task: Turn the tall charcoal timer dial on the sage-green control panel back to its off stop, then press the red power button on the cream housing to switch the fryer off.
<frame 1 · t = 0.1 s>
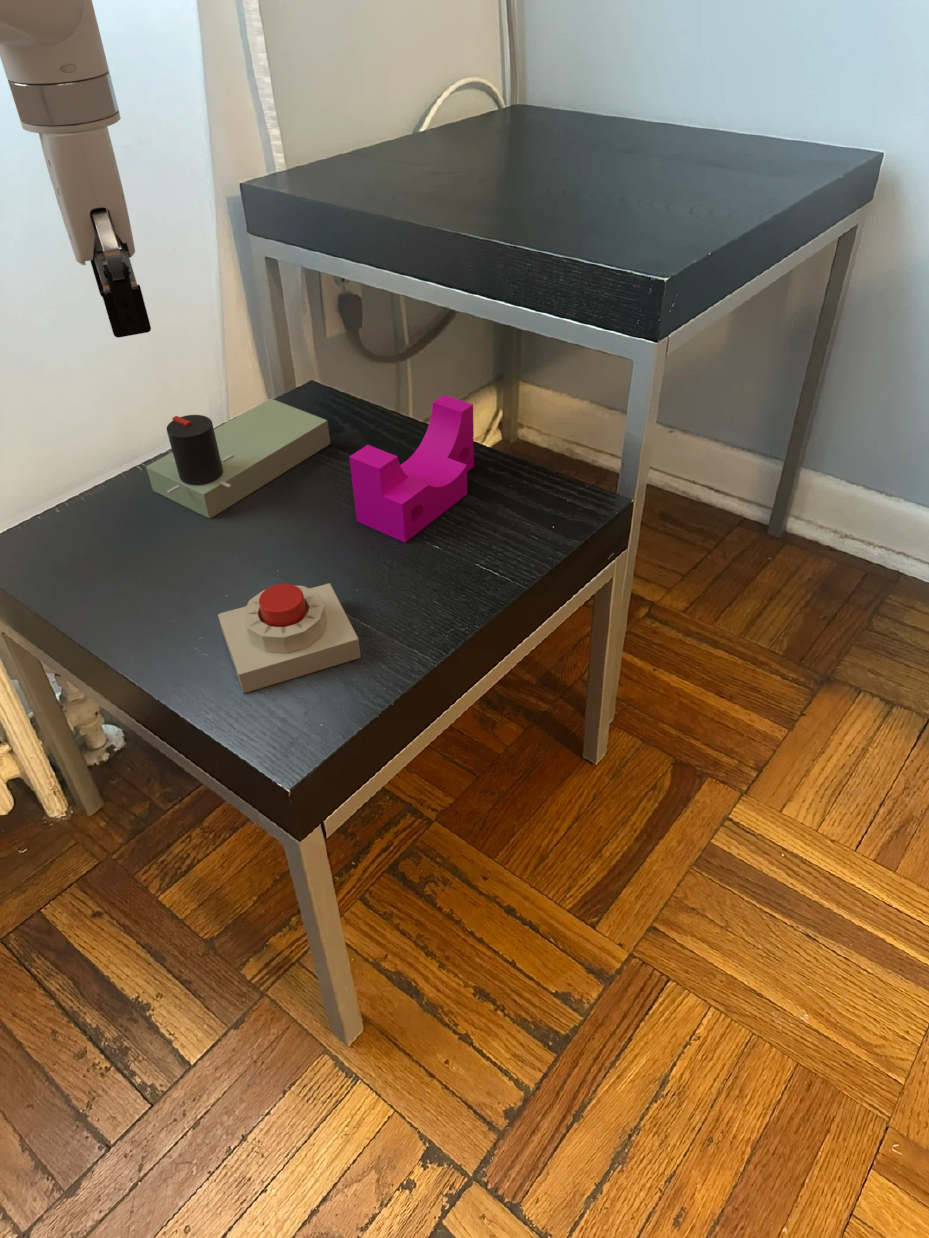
hand: (125, 313, 81), 19 cm above the table, tool pointing down, fingers open, 9 cm apart
toy block: (427, 498, 92), on the table
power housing: (290, 645, 75), on the table
timer dial: (195, 448, 88), point 6 cm above the table, hinge at 90.0°
dial panel: (244, 466, 97), on the table
power button: (282, 605, 72), point 4 cm above the table, slide at 0.1 cm
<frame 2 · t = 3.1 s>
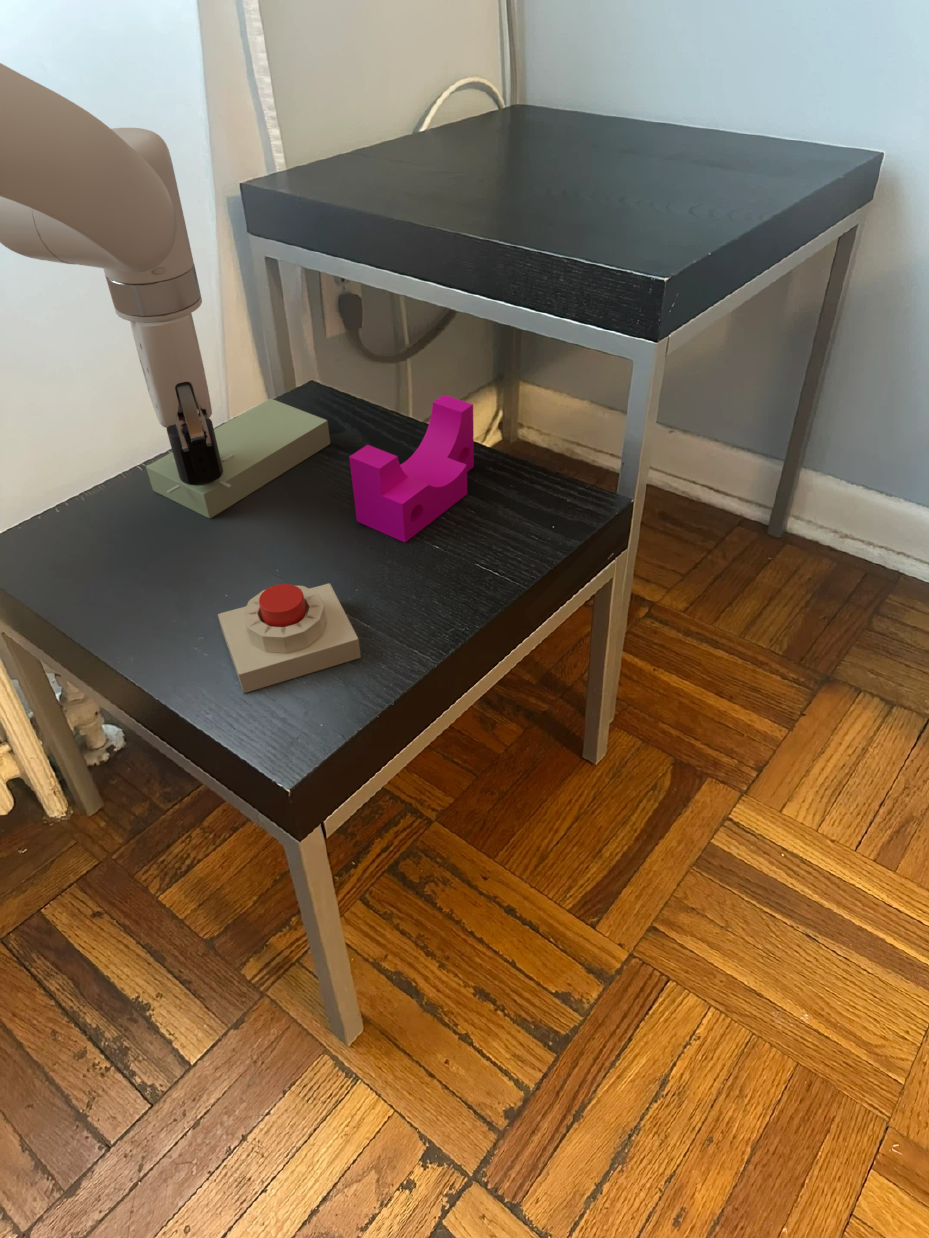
hand: (199, 465, 90), 4 cm above the table, tool pointing down, fingers closed on timer dial, 4 cm apart
timer dial: (195, 448, 88), point 6 cm above the table, hinge at 90.1°, touching gripper
everything else where it was.
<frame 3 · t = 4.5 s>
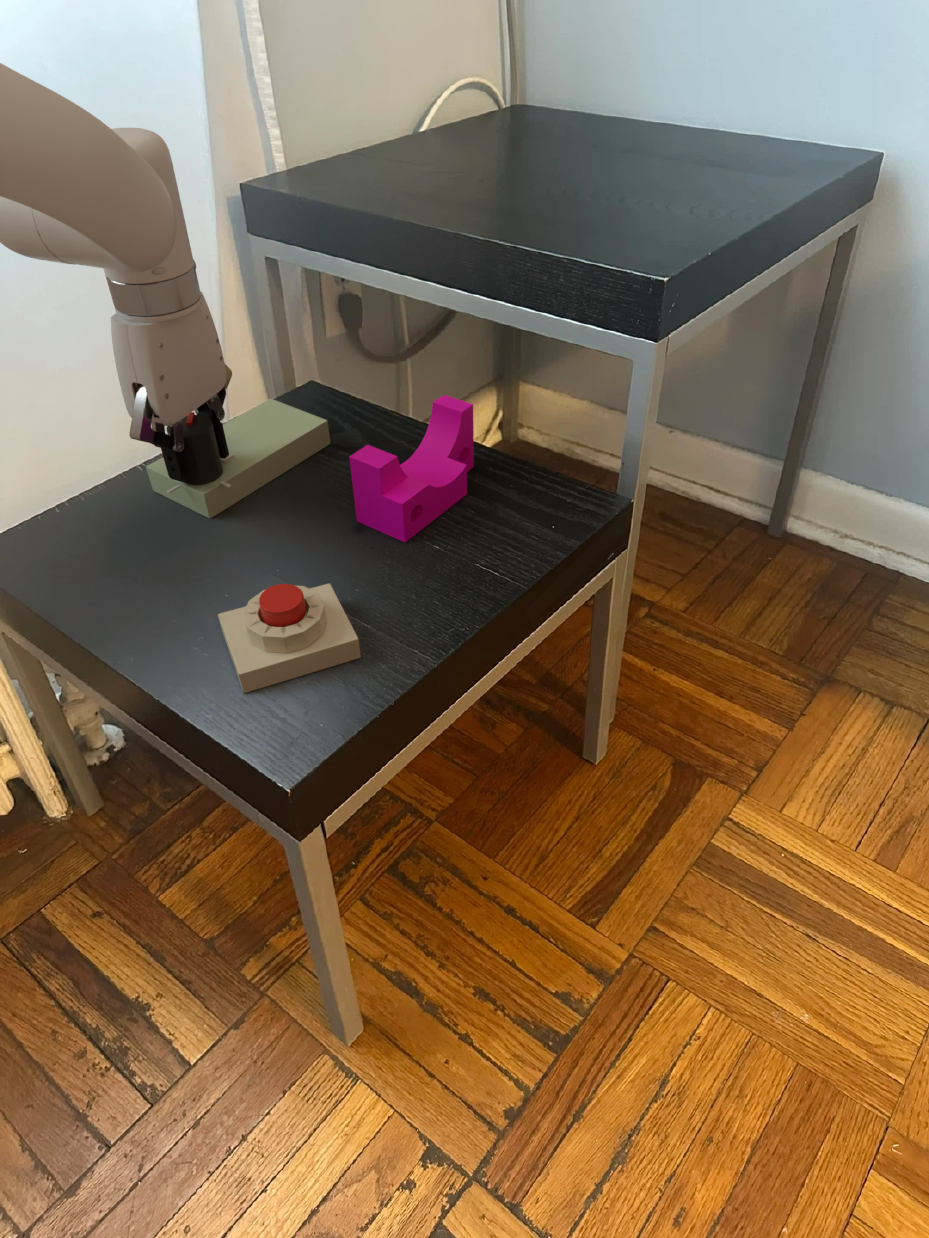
hand: (199, 465, 90), 4 cm above the table, tool pointing down, fingers closed on timer dial, 4 cm apart
timer dial: (195, 448, 88), point 6 cm above the table, hinge at 42.2°, touching gripper
everything else where it was.
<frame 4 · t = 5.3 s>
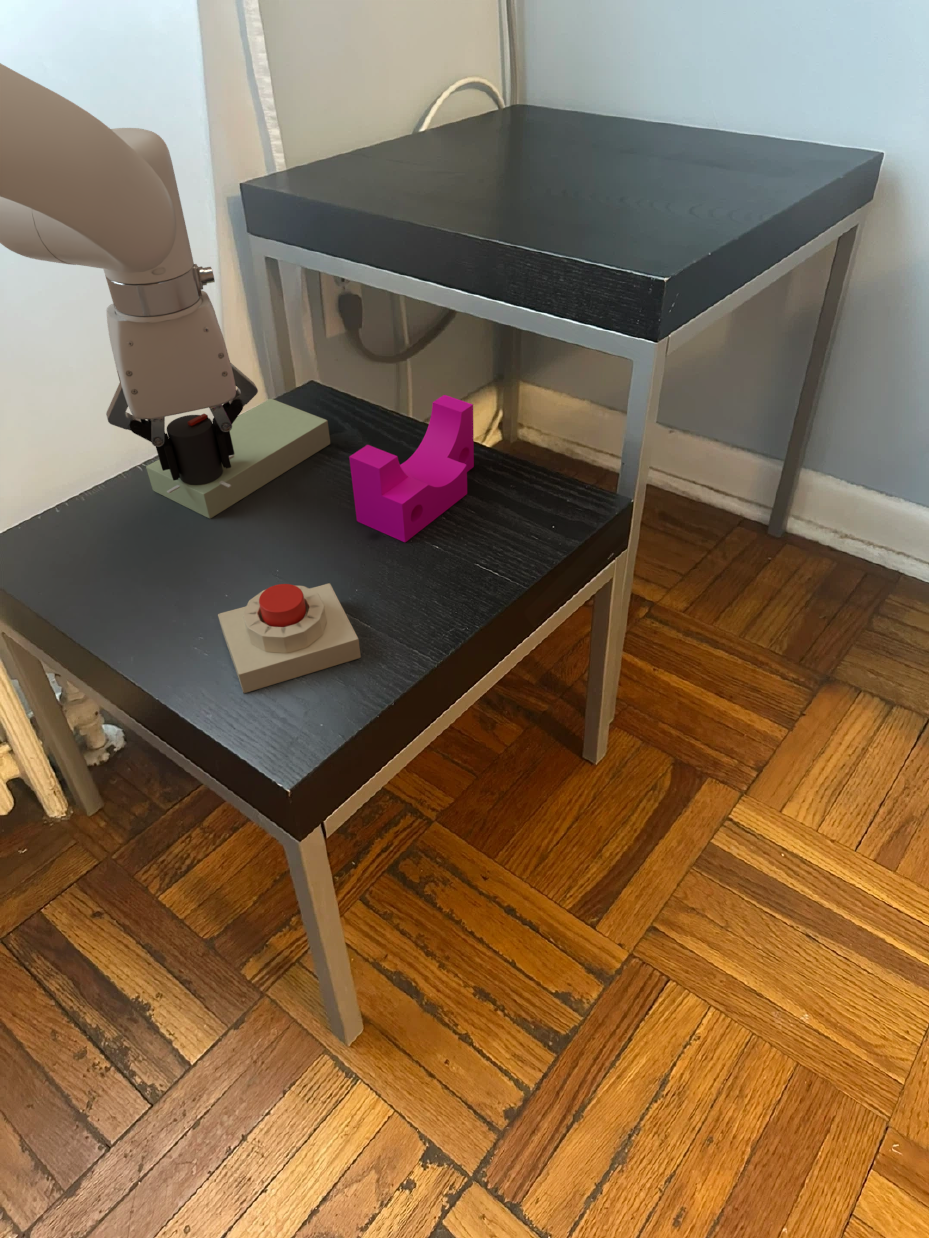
hand: (199, 466, 90), 4 cm above the table, tool pointing down, fingers closed on timer dial, 4 cm apart
timer dial: (195, 448, 88), point 6 cm above the table, hinge at -0.8°, touching gripper
everything else where it was.
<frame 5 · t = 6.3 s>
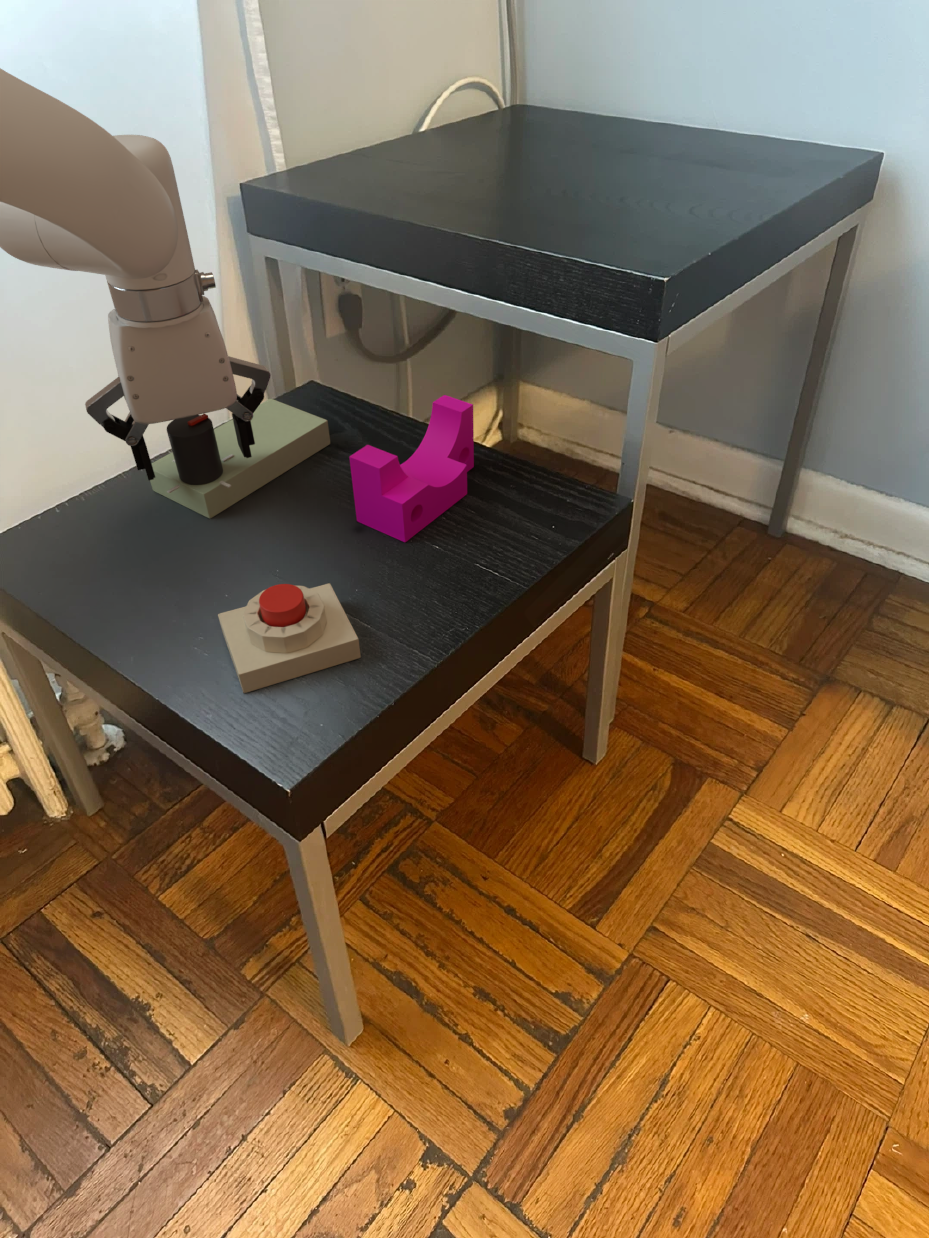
hand: (198, 462, 89), 4 cm above the table, tool pointing down, fingers open, 9 cm apart
timer dial: (195, 448, 88), point 6 cm above the table, hinge at -2.5°
everything else where it was.
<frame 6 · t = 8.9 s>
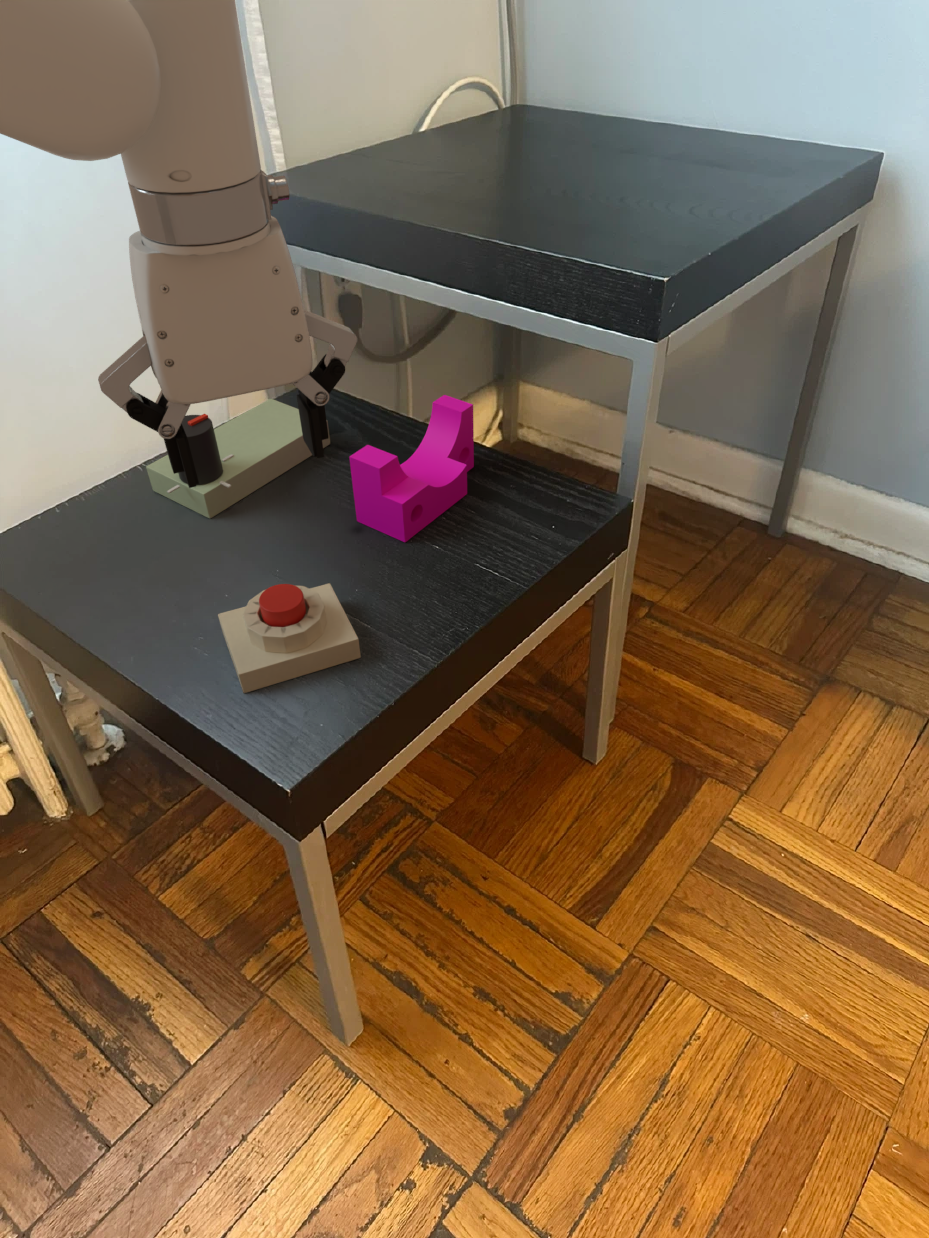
hand: (253, 462, 63), 18 cm above the table, tool pointing down, fingers open, 8 cm apart
nothing on the table moved.
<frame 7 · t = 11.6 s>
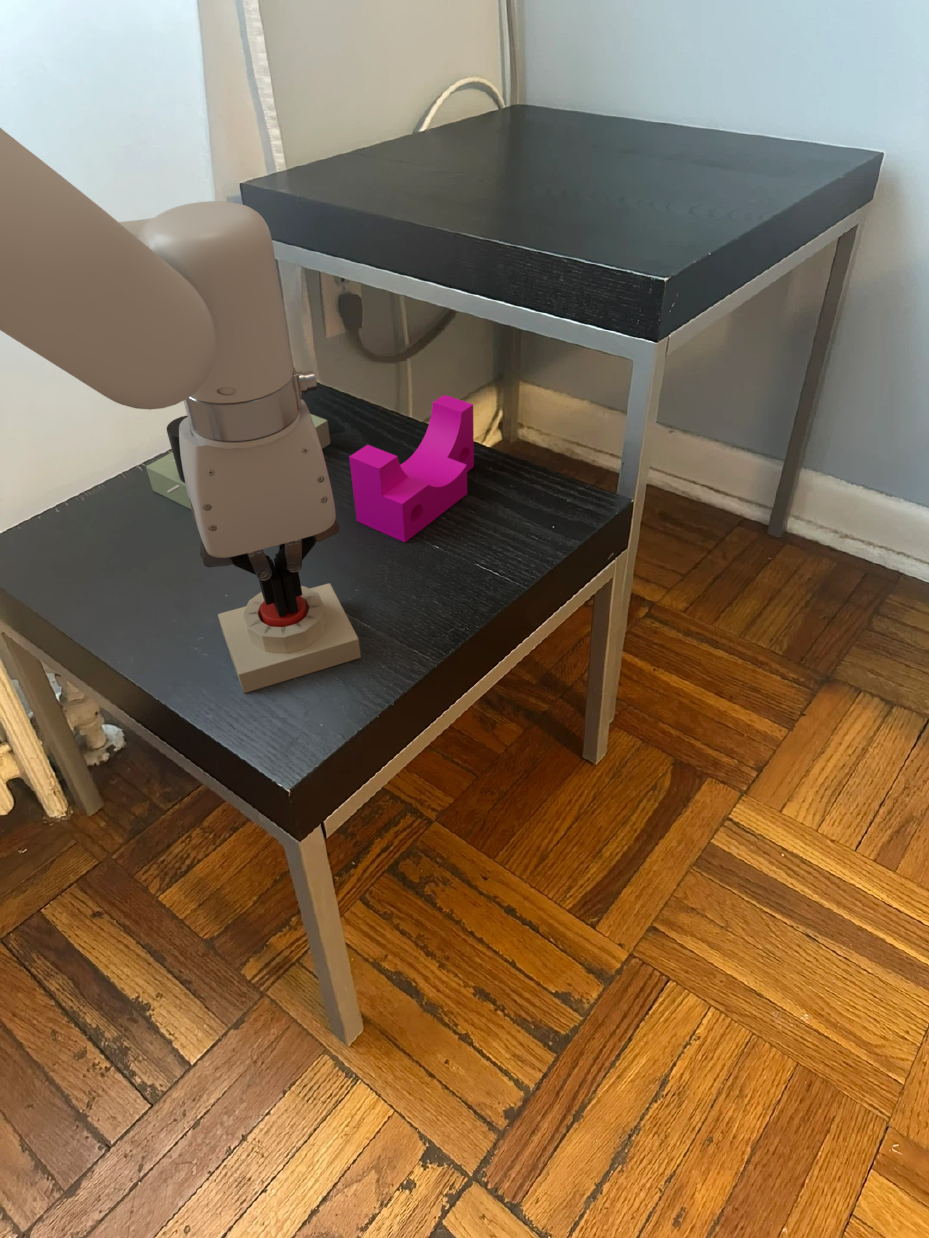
hand: (284, 604, 72), 5 cm above the table, tool pointing down, fingers closed
power button: (284, 613, 73), point 4 cm above the table, slide at -0.8 cm, touching gripper
everything else where it was.
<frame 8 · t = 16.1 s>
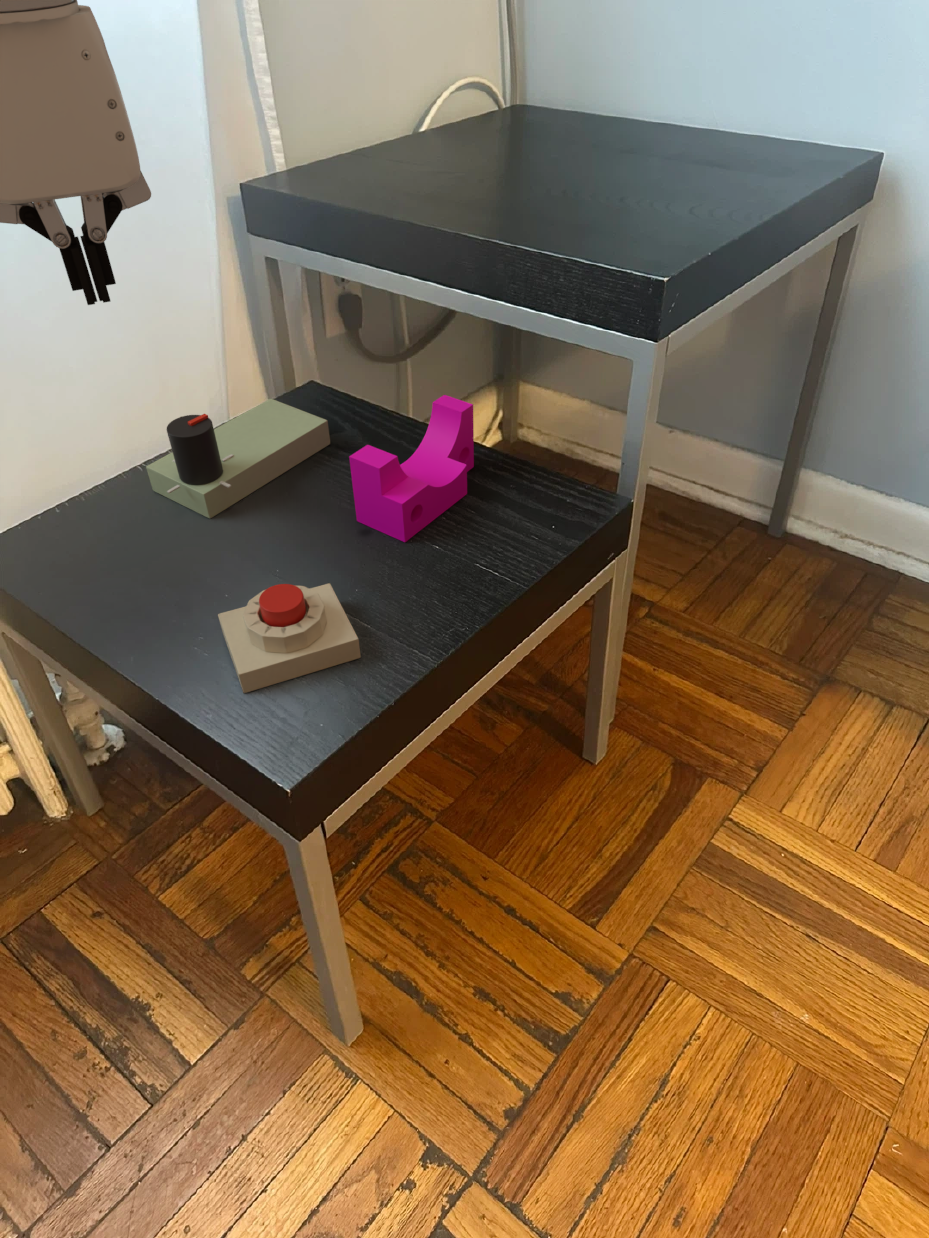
hand: (97, 296, 63), 27 cm above the table, tool pointing down, fingers closed
power button: (282, 605, 72), point 4 cm above the table, slide at 0.1 cm
everything else where it was.
at the end: timer dial at -2° (first picture: +90°); power button pushed in 1.1 cm at the most during the clip, back to where it started at the end; power button slide at 0.1 cm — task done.
